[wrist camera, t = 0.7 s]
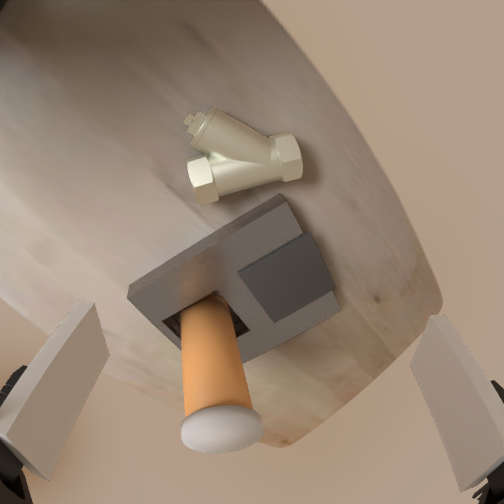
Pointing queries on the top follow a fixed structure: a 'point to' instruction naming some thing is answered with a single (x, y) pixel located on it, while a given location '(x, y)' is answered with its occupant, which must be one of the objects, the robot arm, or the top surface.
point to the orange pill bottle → (214, 381)
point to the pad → (289, 278)
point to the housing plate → (230, 280)
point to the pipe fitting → (236, 156)
